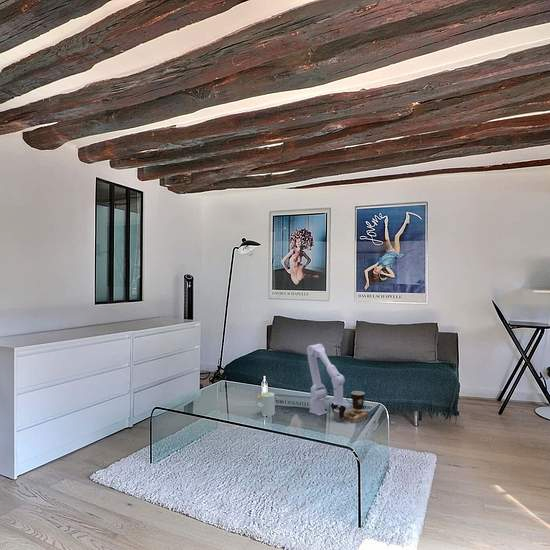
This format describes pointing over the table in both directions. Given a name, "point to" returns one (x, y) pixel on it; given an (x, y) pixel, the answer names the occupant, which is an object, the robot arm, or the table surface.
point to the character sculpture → (267, 403)
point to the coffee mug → (357, 399)
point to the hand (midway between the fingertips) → (338, 416)
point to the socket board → (355, 415)
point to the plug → (337, 415)
